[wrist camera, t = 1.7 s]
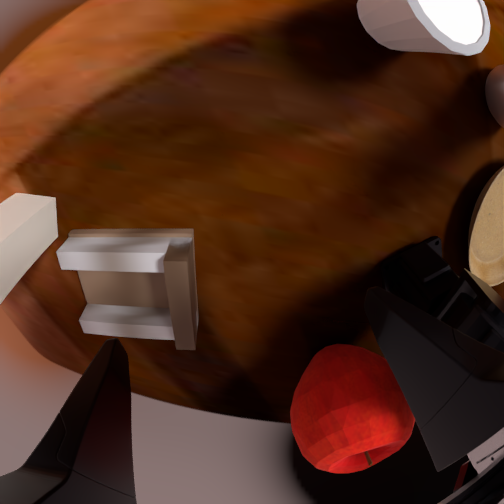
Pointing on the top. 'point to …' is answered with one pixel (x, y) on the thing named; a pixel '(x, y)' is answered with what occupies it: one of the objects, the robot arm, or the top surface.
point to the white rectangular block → (24, 235)
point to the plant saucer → (488, 232)
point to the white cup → (427, 25)
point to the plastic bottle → (496, 93)
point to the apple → (349, 410)
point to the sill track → (136, 282)
